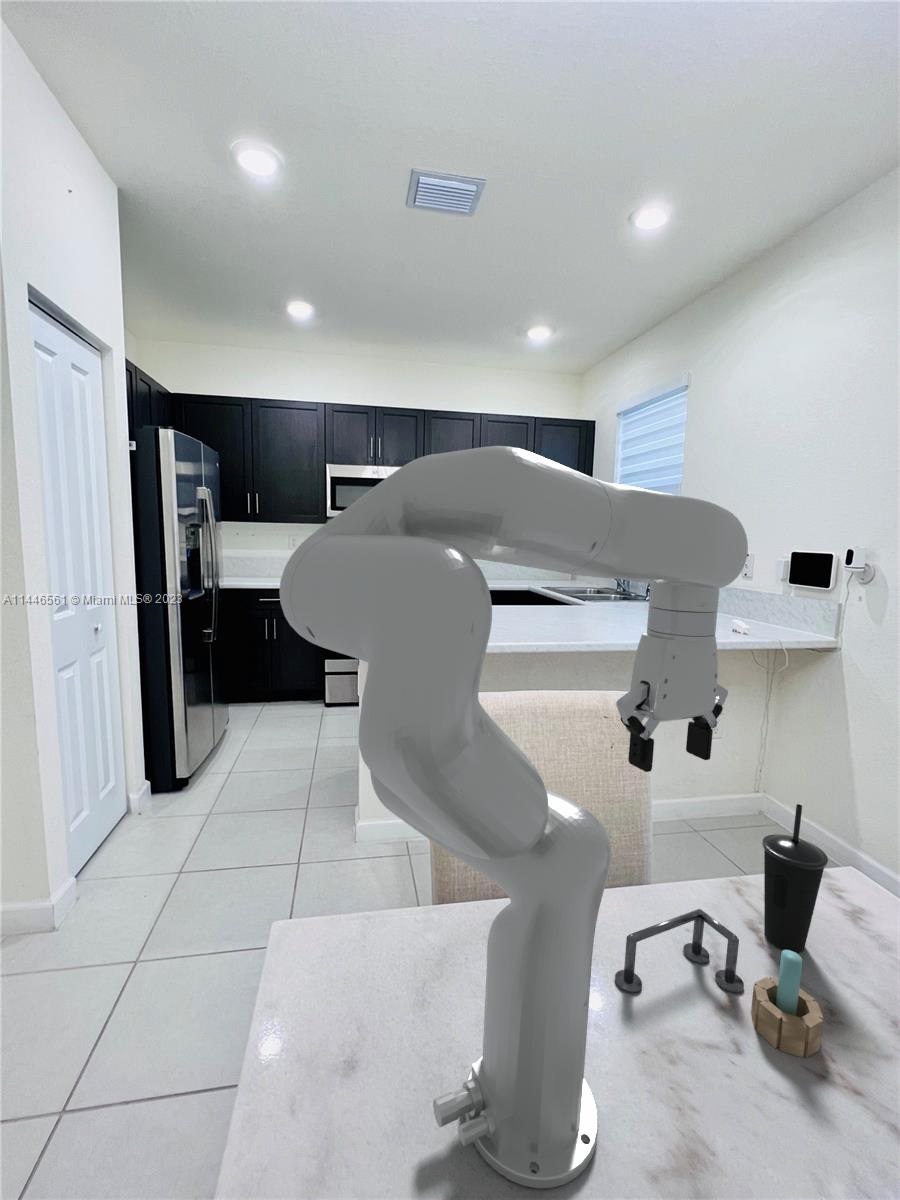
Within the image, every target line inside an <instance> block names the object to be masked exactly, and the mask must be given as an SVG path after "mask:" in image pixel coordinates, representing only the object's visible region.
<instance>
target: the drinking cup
mask: <svg viewBox="0 0 900 1200" xmlns="http://www.w3.org/2000/svg"><path fill="white" fill-rule="evenodd" d="M802 812H803V805H801V804H798V803H797V804H796V806H795V814H794V815H795V816H794V822H793V831H792V835H788V834H768V835H766V836H764V837H763V839H762V842H761V843H762V848H763V849H764V856H763V857H764V862H763V863H764V867H763V868H764V871H763V873H764V875H763V877H764V880H763V881H764V887H763V888H764V891H763V893H764V897H763V898H764V899H763V900H764V905H763V906H764V907H763V908H764V909H763V911H764V917H763V918H764V921H763V922H764V924H763V925H764V930H763V931H764V937H765V939H766V940H767V941H768V942H769V944H771V945H772V946H774V947H775V948H777V949H779V950H781V951H783V950H790V951H793V952H795V953H797V954H800V953H802V952H804V950H805V947H806V945H807V944H806V943H807V939H808V935H809V932H810V927H811V923H812V919H813V914H814V911H815V906H816V902H817V899H818V895H819V890H820V886H821V882H822V877H823V873H824V870H825V867H827V865H828V864H829V858H828V856H827V853H825V851H824V850H822V849H821V848H819V847H818V846H817V845H815V844H813V843H811V842H809V841H807V840H805V839H802V838H800V830H801V829H800V828H801V824H802V823H801V821H802Z"/></svg>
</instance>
